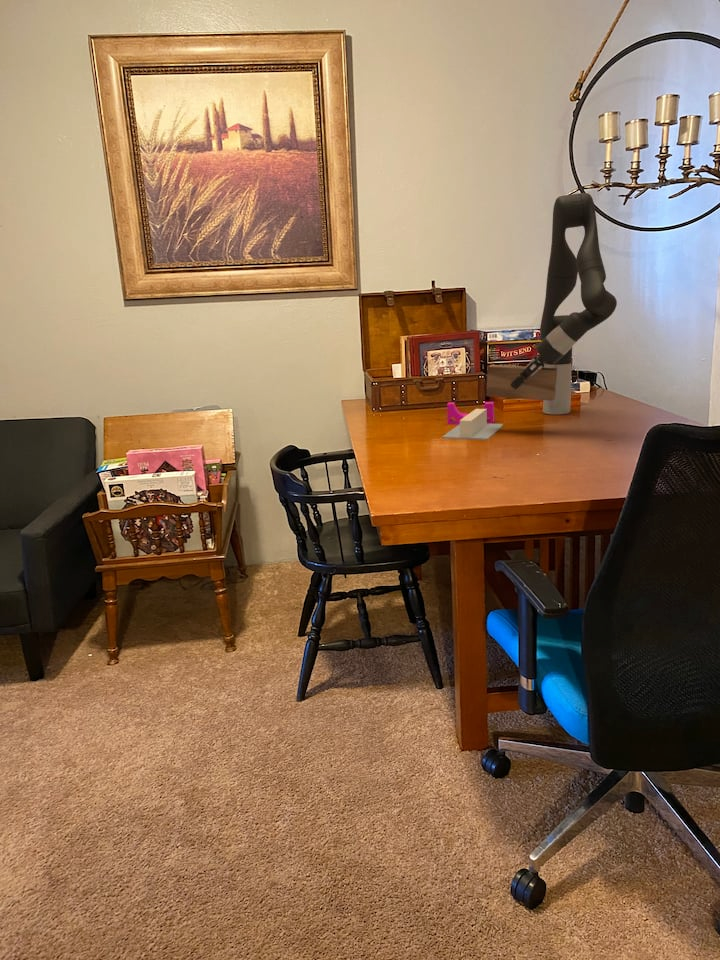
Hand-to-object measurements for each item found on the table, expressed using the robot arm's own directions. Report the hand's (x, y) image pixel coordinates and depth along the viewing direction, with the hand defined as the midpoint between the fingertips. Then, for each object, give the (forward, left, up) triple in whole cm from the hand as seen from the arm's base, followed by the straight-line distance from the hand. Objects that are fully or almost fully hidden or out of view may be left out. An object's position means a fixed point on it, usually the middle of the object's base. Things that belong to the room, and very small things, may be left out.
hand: (514, 385), depth 210 cm
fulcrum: (+2, -12, -15) cm, 19 cm away
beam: (0, +2, -3) cm, 4 cm away
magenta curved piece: (-12, -17, -15) cm, 26 cm away
